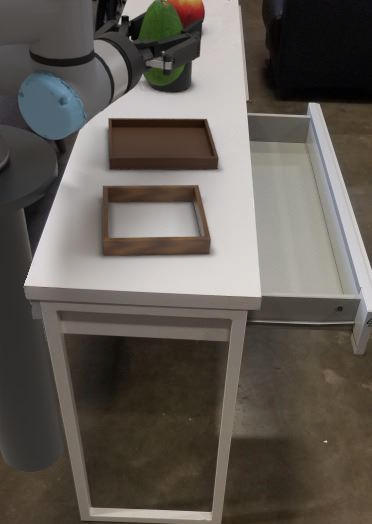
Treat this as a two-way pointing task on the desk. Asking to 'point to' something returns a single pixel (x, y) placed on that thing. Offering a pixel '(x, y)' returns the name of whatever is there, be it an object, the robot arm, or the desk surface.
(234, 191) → the desk surface
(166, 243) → the wooden frame
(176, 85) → the mug
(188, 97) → the desk surface
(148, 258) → the desk surface
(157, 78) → the avocado
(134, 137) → the tray
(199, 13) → the fruit
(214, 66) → the desk surface
